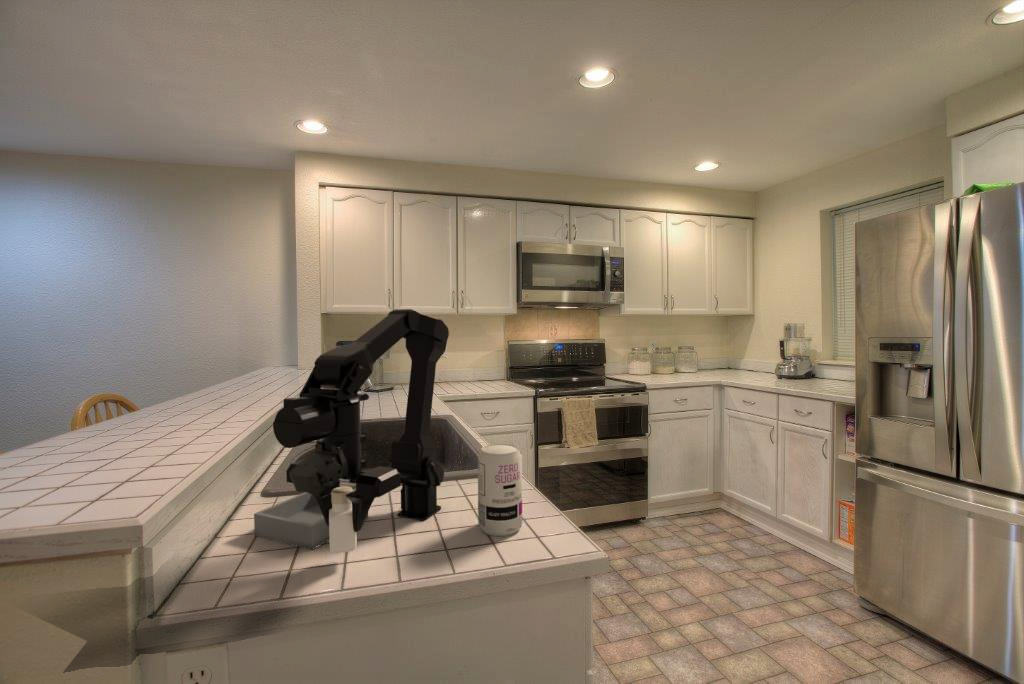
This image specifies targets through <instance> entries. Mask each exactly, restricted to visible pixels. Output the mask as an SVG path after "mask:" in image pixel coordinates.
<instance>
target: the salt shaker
mask: <svg viewBox="0 0 1024 684" xmlns="http://www.w3.org/2000/svg"><path fill="white" fill-rule="evenodd" d="M353 491H354V489H353V487H351V486H348V485H347V486H339V487H337V488H335V489H333V490H332V491H331V498H332V499H331V502H332V509H330V510H329V541H328V542H329V552H330V554H333V555H335V554H341V553H346V552H347V553H348V552H352V551H353V552H354V551H355V550H356V549H357V546H358V543H357V540H358V539H357V536H358V535H357V532H354V528H353V517H352V502H351V501H350V500H349V499H348V498H347V497H346V495H347V494H349V493H351V492H353Z"/></svg>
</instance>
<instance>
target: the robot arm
mask: <svg viewBox="0 0 1024 684" xmlns="http://www.w3.org/2000/svg"><path fill="white" fill-rule="evenodd" d="M449 334H450V332H449V327H448V326H447V325H446V324H445V322H444V320H442V319H439V318H435V317H431V316H428V315H425V314H422V313H420V312H418V311H416V310H414V309H411V308H409V309H408V308H407V309H405V308H404V309H403V308H401V309H397V308H396V309H393V310H391V311H389V313H388V314H387V316H385V317H384V318H383V319H381V320H380V321H379V322H377V324H375V325H373V326H372V327H371V328H370V329H369V330H367V331H366V332H364V333H363V334H362V335H361V336H360V337H359V338H357V339H356V340H354V341H353V342H350V343H348V344H346V345H342V346H339V347H334V348H332V349H331V350H328V351H326V352H324V353H322V354H320V355H319V356H318V357H317V358H316V359H315V361H314V366H313V368H312V370H311V372H310V374H309V376H308V378H307V379H306V382H305V383H304V385H303V388H302V389H301V391H300V393H299V396H298V397H288V398H284V399H283V401H282V402H283V403H282V404H283V407H282V408H280V409H279V410H278V411H277V413H276V415H275V417H274V421H273V422H272V428H273V429H272V430H273V434H274V437H275V438H276V441H277V442H278V443H279V444H280V445H281V446H283V447H284V448H287V449H292V448H296V447H299V446H302V445H306V444H309V443H312V442H316V443H315V446H314V448H315V449H314V453H313V454H311V455H309V456H307V457H306V458H303V459H301V460H297V461H295V462H292V463H290V465H288V467H287V469H286V483H290V484H293V486H294V488H295V491H296V492H297V493H304V492H306V493H309V494H311V495H314V496H315V498H316V500H317V502H318V504H319V507H320V509H321V512H322V514H323V516H324V519H325V521H326V524H327V526H329V510H330V509H332V502H331V499H332V498H331V491H332V490H333V489H335V488H337V487H341V486H340V484H341V482H342V483H349V484H354V486H355V487H354V490H353V492H351V493H349V494H347V495H346V497H347V498H348V499H349V500H350V501H351V502H352V517H353V528H354V532H356V533H358V532H359V531H361V529H362V527H363V525H364V523H365V521H366V519H365V518H366V516H367V514H368V515H369V511H370V509H371V507H372V504H373V502H374V501H375V499H376V498H380V497H382V496H385V495H386V494H389V493H390V492H392V491H393V490H396V489H397V488H399V487H401V489H400V509H401V510H400V511H398V512H397V516H399V517H405V518H410V519H414V520H419V521H425V520H427V519H429V518H430V517H432V516H433V515H434V514H435V513H437V512H439V511H440V510H441V509H442V506H441V505H438V502H437V501H438V500H437V499H438V498H437V497H438V496H437V495H438V494H437V491H438V490H437V489H438V488H437V487H440V486H441V483H442V482H443V481H444V478H445V470H444V469H443V467H442V466H441V465H440V464H439V463H438V461H437V460H436V446H435V444H434V441H433V440H432V438H431V435H430V427H431V418H432V407H433V397H434V390H435V389H434V388H435V381H436V379H435V378H436V369H437V363H438V361H439V360H440V358H442V356H443V355H444V353H445V352H446V348H447V345H448V344H447V343H448V339H449V336H450V335H449ZM402 338H403V339H405V349H406V351H407V353H408V356H409V358H410V360H411V366H410V374H409V382H408V393H407V402H406V410H405V411H406V412H405V418H404V419H405V420H404V426H403V427H404V428H403V433H402V434H401V436H400V437H399V439H397V440H393V441H392V443H391V452H390V456H389V460H388V462H389V463H390V467H387V466H380V465H379V466H377V467H374V468H372V469H369V470H368V471H362V469H365V468H366V467H367V464H368V463H367V460H366V459H362V444H365V442H367V435H365V434H361V403H360V402H363V401H368V400H369V398H370V396H369V394H368V393H367V392H365V391H364V390H363V389H362V387H363V385H364V384H365V383H366V381H367V380H368V379H369V378H370V376H371V375H372V374H373V371H374V370H373V369H374V364H375V362H377V361H378V360H379V359H380V358H381V357H382V356H383V355H385V353H386V352H387V351H389V350H390V349H391V348H392V347H393V346H394V345H396V344H397V343H398V342H399V341H400V340H401V339H402Z"/></svg>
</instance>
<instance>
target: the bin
mask: <svg viewBox="0 0 1024 684" xmlns="http://www.w3.org/2000/svg"><path fill="white" fill-rule="evenodd" d="M368 518H369V513H368V514H367V516H366V518H365V520H367V519H368ZM253 519H254V521H253V522H254V524H253V525H254V536H257V537H259V538H263V537H264V539H267V538H268V539H267V540H271V539H273V540H272V541H275V540H277V541H276V542H279V541H281V542H280V543H283V542H285V543H284V544H287V543H289V544H288V545H291V544H293V545H292V546H295V545H297V546H296V547H299V546H301V547H300V548H303V547H305V548H304V549H307V548H310V549H309V550H311V549H313V548H315V547H316V546H318V545H320V544H322V543H323V542H325V541H327V540H329V526H327V524H326V521H325V519H324V516H323V514H322V512H321V509H320V507H319V504H318V502H317V500H316V498H315V496H314V495H311V494H309V493H306V492H301V493H300V494H297V495H295V496H293V497H290V498H288V499H286V500H284V501H283V500H282V501H281V502H278V503H277V504H274V505H271V506H270V507H266V508H264V509H262V510H260V511H258V512H255V513H253ZM327 542H328V541H327ZM325 543H326V542H325ZM323 544H324V543H323ZM323 544H322V545H323ZM320 546H321V545H320ZM318 547H319V546H318ZM315 549H316V548H315ZM313 550H314V549H313Z"/></svg>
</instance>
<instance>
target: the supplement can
mask: <svg viewBox="0 0 1024 684" xmlns="http://www.w3.org/2000/svg"><path fill="white" fill-rule="evenodd" d="M477 516H478V517H477V521H478V522H477V523H478V524H477V525H478V528H479V529H480V530H481V531H482V532H484V533H485V534H486V535H489V536H494V537H506V536H512V535H513V534H515V533H517V532H518V531H519V529H520V528H522V526H523V455H522V453H521V452H520V450H519V447H518V446H517V445H514V444H508V443H493V444H488V445H485V446H482V447H481V448H480V453H479V455H478V456H477Z"/></svg>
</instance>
